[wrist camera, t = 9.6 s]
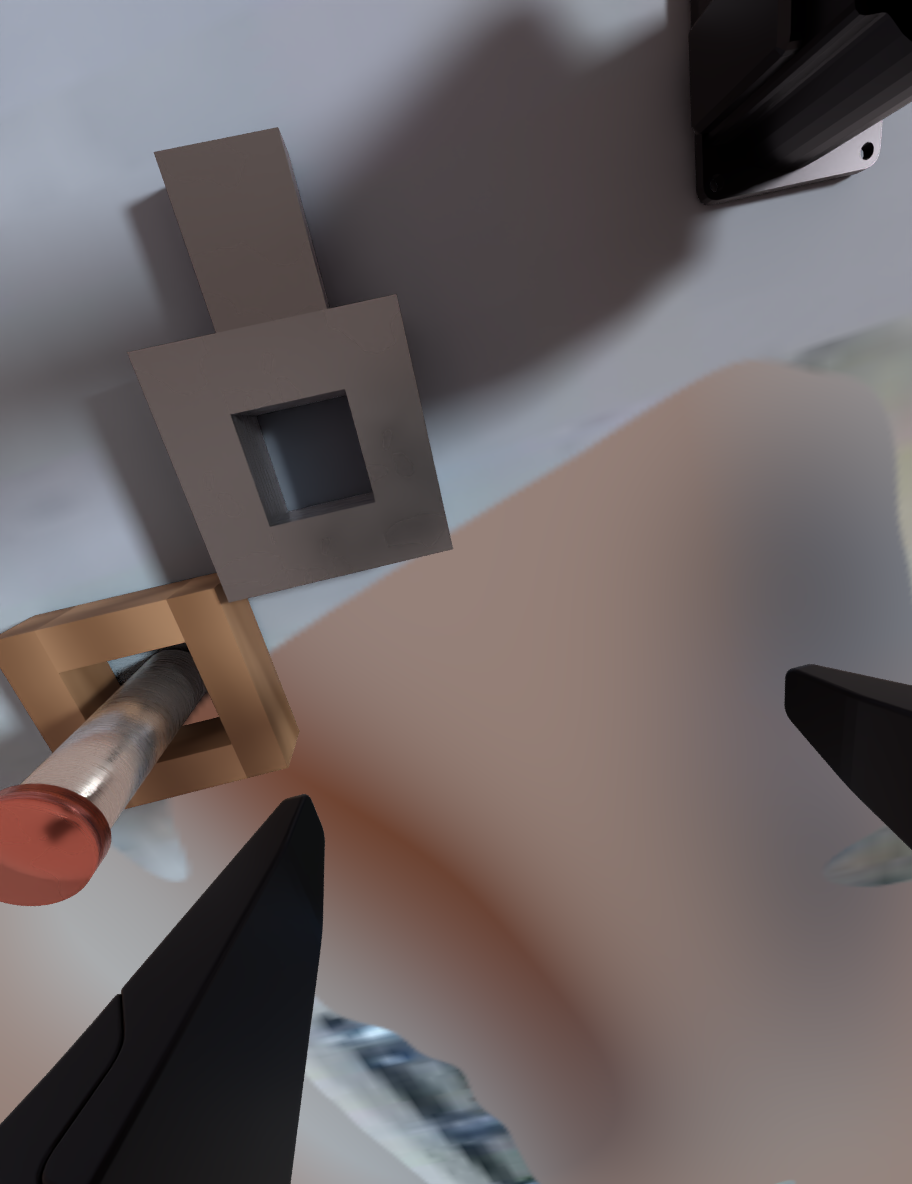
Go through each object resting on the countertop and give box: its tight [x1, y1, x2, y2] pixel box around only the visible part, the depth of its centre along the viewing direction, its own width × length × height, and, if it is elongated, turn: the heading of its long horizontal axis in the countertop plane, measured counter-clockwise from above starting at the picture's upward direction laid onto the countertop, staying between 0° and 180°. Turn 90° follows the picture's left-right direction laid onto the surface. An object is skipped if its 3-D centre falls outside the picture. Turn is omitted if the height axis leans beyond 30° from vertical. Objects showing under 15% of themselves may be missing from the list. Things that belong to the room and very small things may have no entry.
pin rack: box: [0, 573, 299, 809], centre depth 20 cm, size 8×8×2 cm
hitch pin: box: [0, 649, 207, 906], centre depth 16 cm, size 3×3×9 cm
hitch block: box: [127, 127, 453, 603], centre depth 16 cm, size 8×13×3 cm, turn 12°
